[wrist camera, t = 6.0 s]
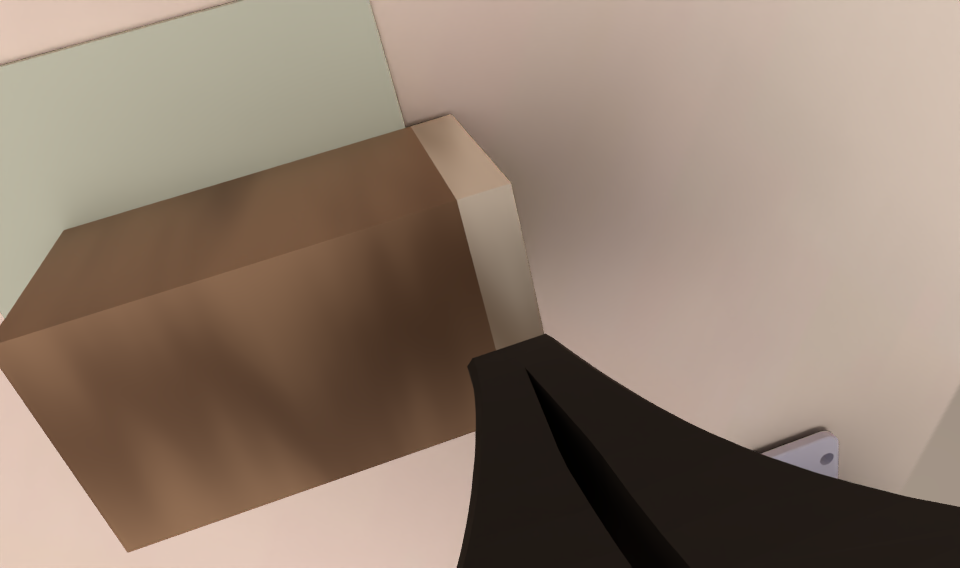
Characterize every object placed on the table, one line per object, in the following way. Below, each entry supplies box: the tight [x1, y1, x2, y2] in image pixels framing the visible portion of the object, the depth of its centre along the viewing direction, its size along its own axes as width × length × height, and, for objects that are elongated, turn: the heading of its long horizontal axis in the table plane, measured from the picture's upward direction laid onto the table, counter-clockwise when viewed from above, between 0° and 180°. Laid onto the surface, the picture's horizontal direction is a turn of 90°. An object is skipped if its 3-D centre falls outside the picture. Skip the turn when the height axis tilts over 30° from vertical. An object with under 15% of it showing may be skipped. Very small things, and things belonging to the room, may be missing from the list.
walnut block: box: [0, 114, 544, 552], centre depth 16 cm, size 5×5×9 cm
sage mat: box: [0, 0, 406, 319], centre depth 18 cm, size 12×10×1 cm
